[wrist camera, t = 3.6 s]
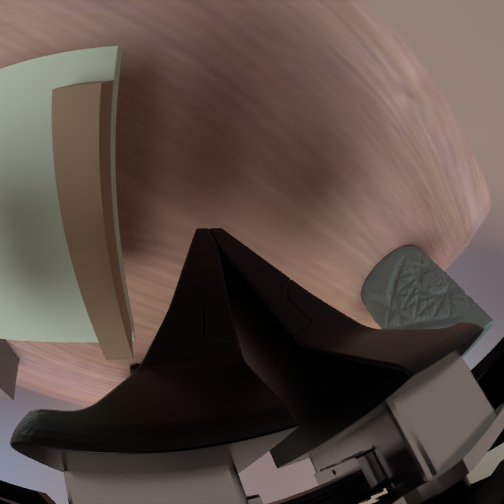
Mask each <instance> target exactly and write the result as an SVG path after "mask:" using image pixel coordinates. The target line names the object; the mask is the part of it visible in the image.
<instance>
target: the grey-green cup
mask: <svg viewBox="0 0 504 504" xmlns="http://www.w3.org/2000/svg"><path fill="white" fill-rule="evenodd" d="M362 299H363V302H364V304H365V305H366V307H367V309H368V310H369V312H370V314H371V315H372V317H373V319H374V320H375V322H376V323H378V324H379V326H380V327H381V329H391V330H406V329H440V328H447V327H451V326H453V325H455V324H457V323H459V322H466V323H475V324H478V325H480V326H482V327H483V328H484V331H483V332H482V334H481V335H480V336H479V338H478V339H477V340H476V341H475V342H474V343H473V344H472V345H471V347H470V348H469V349H468V350H467V351H466V352H465V353H464V354H463V355H462V356H461V357H463V356H464V355H465V354H466V353H467V352H468V351H469V350H470V349H471V348H472V347H473V346H474V345H475V344H476V343H477V342H478V341H479V340H480V339H481V338H482V337H483V336H484V334H485V333H486V332H487V331H488V330H489V328H490V327H491V325H492V324H493V320H492V319H491V317H490V316H489V315H488V314H487V313H486V312H485V311H484V310H483V309H482V308H481V307H480V306H479V305H478V304H477V303H475V302H474V300H473V299H472V298H471V297H469V296H468V295H466V294H465V292H464V290H463V289H462V288H461V287H459V285H458V284H457V283H456V282H455V281H454V280H452V279H451V277H450V276H449V275H447V273H446V272H444V271H443V270H442V269H441V268H440V267H439V266H438V265H437V264H436V263H434V262H433V261H432V260H431V259H430V258H429V257H428V256H427V255H426V254H425V253H424V252H422V251H421V250H420V249H419V248H417V247H415V246H411V245H410V246H408V245H407V246H403V247H400V248H398V249H396V250H394V251H393V252H391V253H390V254H389V255H387V256H386V257H385V258H384V259H382V260H381V261H380V262H379V263H378V264H377V265H376V266H375V268H374V269H373V270H372V271H371V273H370V274H369V276H368V277H367V279H366V281H365V283H364V285H363V288H362Z"/></svg>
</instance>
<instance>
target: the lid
mask: <svg viewBox="0 0 504 504" xmlns="http://www.w3.org/2000/svg"><path fill="white" fill-rule="evenodd" d="M122 53H123V48H122V47H120V46H107V47H97V48H88V49H81V50H74V51H68V52H62V53H57V54H52V55H48V56H43V57H39V58H35V59H31V60H27V61H24V62H20V63H17V64H13V65H10V66H7V67H4V68H1V69H0V339H8V340H21V341H40V342H99V344H100V346H101V349H102V351H103V353H104V355H105V358H106V360H108V359H133V348H132V341H135V333H134V322H133V317H132V312H131V307H130V302H129V296H128V290H127V284H126V278H125V272H124V265H123V258H122V250H121V241H120V232H119V221H118V208H117V192H116V114H117V99H118V87H119V77H120V68H121V60H122Z"/></svg>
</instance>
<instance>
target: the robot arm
mask: <svg viewBox="0 0 504 504" xmlns="http://www.w3.org/2000/svg"><path fill="white" fill-rule="evenodd" d="M483 331H484V328H483V327H482V326H480V325H478V324H475V323H466V322H459V323H457V324H455V325H453V326H451V327H447V328H440V329H406V330H391V329H374V328H370V327H366V326H364V325H362V324H360V323H358V322H356V321H355V320H353V319H351V318H350V317H348V316H346V315H345V314H343V313H341V312H340V311H338V310H336V309H335V308H333V307H332V306H330V305H328V304H327V303H325V302H323V301H322V300H320V299H319V298H317V297H316V296H314V295H313V294H311V293H310V292H308V291H307V290H305V289H304V288H303V287H301V286H300V285H298V284H297V283H296V282H294V281H293V280H290V278H289V277H287V276H286V275H285V274H283V273H282V272H281V271H279V270H278V269H276V268H275V267H274V266H272V265H271V264H270V263H268V262H267V261H266V260H264V259H263V258H262V257H260V256H259V255H257V254H256V253H255V252H253V251H252V250H251V249H249V248H248V247H247V246H245V245H244V244H242V243H241V242H240V241H238V240H237V239H236V238H234V237H233V236H232V235H230V234H229V233H227V232H226V231H225V230H223V229H222V228H211V229H208V228H198V229H196V231H195V234H194V237H193V240H192V243H191V245H190V248H189V251H188V254H187V257H186V260H185V263H184V266H183V269H182V272H181V275H180V278H179V281H178V284H177V287H176V290H175V293H174V296H173V299H172V301H171V304H170V307H169V310H168V312H167V314H166V316H165V318H164V320H163V322H162V324H161V326H160V328H159V330H158V332H157V334H156V336H155V338H154V340H153V342H152V344H151V346H150V348H149V350H148V352H147V354H146V356H145V358H144V360H143V361H142V363H141V365H136V366H131V367H130V372H131V376H129V377H128V378H127V379H126V380H124V381H123V382H122V383H121V384H119V385H118V386H117V387H116V388H114V389H113V390H112V391H111V392H109V393H108V394H107V395H106V396H104V397H103V398H102V399H101V400H99V401H98V402H97V403H95V404H94V405H92V406H90V407H87V408H85V409H81V410H76V411H58V410H48V409H39V410H34V411H31V412H29V413H28V414H27V415H26V416H25V417H24V418H23V419H22V420H21V422H20V423H19V424H18V426H17V427H16V428H15V430H14V432H13V435H12V438H11V442H10V444H11V446H12V448H13V449H15V450H16V451H18V452H19V453H21V454H23V455H25V456H27V457H29V458H32V459H34V460H36V461H38V462H40V463H42V464H44V465H47V466H49V467H51V468H54V469H56V470H59V471H61V472H64V475H65V483H66V490H67V495H68V500H69V504H263V503H262V500H261V498H260V496H259V495H258V494H257V495H251V496H246V494H245V492H244V489H243V486H242V483H241V481H240V477H239V475H238V473H239V472H241V471H242V470H244V469H245V468H246V467H248V466H249V465H251V464H252V463H253V462H255V461H256V460H257V459H259V458H260V457H262V456H263V455H264V454H266V453H267V452H268V451H270V453H271V455H272V458H273V460H274V462H275V465H276V466H277V468H281V467H284V466H287V465H290V464H293V463H296V462H299V461H302V460H304V459H307V458H310V459H311V462H312V464H313V466H314V468H315V471H316V473H315V474H314V476H315V478H316V480H317V483H318V485H319V486H317V487H314V488H312V489H309V490H307V491H304V492H301V493H299V494H296V495H293V496H290V497H288V498H284V499H282V500H278V501H275V502H272V503H268V504H359V503H362V502H365V501H368V500H370V499H371V496H373V495H376V494H379V493H381V492H383V491H384V490H383V489H384V488H386V490H387V492H388V493H387V494H384V495H382V496H379V497H378V498H376V501H377V502H375V503H372V504H504V460H502V461H501V462H500V463H499V464H498V466H497V468H496V469H495V470H494V472H493V473H492V474H491V476H489V477H487V478H484V479H482V480H480V481H478V482H475V483H473V484H470V482H469V479H468V478H467V474H468V473H469V472H470V471H471V470H472V469H473V468H474V467H475V466H476V465H477V464H478V463H479V462H480V460H481V459H482V458H483V456H484V455H485V454H486V453H487V452H488V451H490V450H492V449H493V448H495V447H497V446H498V445H500V444H502V443H503V442H504V337H503V338H502V339H501V341H500V342H499V343H498V344H497V345H496V346H495V347H494V348H493V349H492V350H491V352H490V353H488V354H487V356H485V357H484V358H483V359H482V360H481V361H480V362H479V363H478V364H477V365H476V366H475V367H474V368H473V369H472V370H470V369H469V367H468V366H467V364H466V363H465V361H464V360H463V358H462V357H461V356H462V355H463V354H464V353H465V352H466V351H467V350H468V349H469V348H470V347H471V345H472V344H473V343H474V342H475V341H476V340H477V339H478V338H479V336H480V335H481V334H482V332H483ZM0 504H56V503H55V502H54V501H53V500H52V499H51V498H50V497H49V496H48V495H47V494H46V493H42V492H38V491H34V490H30V489H27V488H23V487H20V486H16V485H13V484H9V483H7V482H4V481H1V480H0Z"/></svg>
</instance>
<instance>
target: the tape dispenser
mask: <svg viewBox="0 0 504 504" xmlns="http://www.w3.org/2000/svg"><path fill="white" fill-rule="evenodd" d="M18 364H19V358H18V357H17V355H16V354H15V353H14V352H13V350H12V349H11V347H10V346H9V345H8V343H7V342H6V340H5V339H0V398H2V399H8V400H14V392H15V384H16V376H17V370H18Z"/></svg>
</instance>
